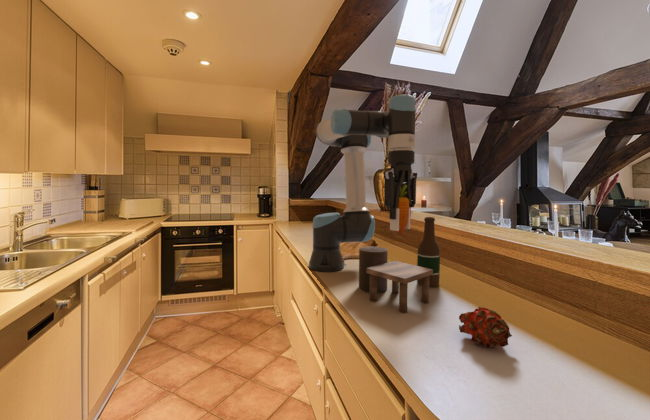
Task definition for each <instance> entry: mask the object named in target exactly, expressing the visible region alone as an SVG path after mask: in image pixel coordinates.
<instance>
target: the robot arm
mask: <svg viewBox="0 0 650 420" xmlns="http://www.w3.org/2000/svg"><path fill="white" fill-rule="evenodd" d="M387 108H388V109H387V110H386V111H381V110H379V111H378V110H355V109H345V108H342V109H334V110H333V111H332V113H331V117H330V119H329V118H326V119H323V120H321V121H319V123H318V124H317V126H316V128H315V129H316V130H315V136H316V138H317V140H318V141H320V143H322V144H324V145H326V146H329V147H335V148H336V147H339V148H340V152H341V154H343V156H344V174H345V175H344V176H345V177H344V178H345V179H344V180H345V181H344V182H345V202H346V204H345V206H346V208H345V209H344V210H343V213H342V215H341V213H339V212H326V213H325V212H324V213H320V214H317V215H315V216H314V217H313V218H312V252H311V255H310V259H309V261H308V268H309V269H310V270H312V271H315V272H325V273H326V272H327V273H329V272H330V273H331V272H337V271H342V270H343V269H344V268H345V262H344V260H343V255H342V252H341V243H343V244H344V243H362V242H368V241H371V239H372V238H373V237H374V234H375V230H376V219H375V217H374V215H372V214H370V213H371V212H370V209H368V208H367V200H366V182H365V181H366V178H365V157H364V154H365V152H367V150H368V148H369V147H370V145H371V143H372V141H371V140H372V137H373V136H375V137H377V138H379V139H380V138H381V139H384V138H388V141H387V143H388V144H387V145H388V146H387V150H388V153H387V163H388V165H390V168H389V170H387V171H383V175H382V176H383V179H384V187H383V188H384V191H383V192H384V198H383V199H384V200H383V201H384V202H383V203H384V204H383V205H384V206H385V207H386V209H389V216H388V217H389V231H394V232H397V231H399V208H397V206H398V200H399V194H400V188H403V186H404V185H406V186H407V187H406V189H405V191H404V192H407V193H406V194H405V195H404V196H403V197H406V198H408V199H409V215H408V220H407V224H406V227H405V229H404V230H410V229H411V217H412V216H411V213H412V212H411V211H412V208H415V205H416V202H417V200H416V199H417V179H418V172H413V169H412V165H413V164H415V159H416V158H415V152H416V151H414V150H415V137H416V136H415V135H416V133H415V132H416V110H417V109H416V98H415V97H414V96H413V95H411V94H397V95H393V96H391V97H390V98H389V100H388V106H387Z"/></svg>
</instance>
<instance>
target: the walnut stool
mask: <svg viewBox="0 0 650 420" xmlns="http://www.w3.org/2000/svg"><path fill="white" fill-rule="evenodd" d="M366 273H368V274H370V293H369V301H370V302H377V301H378V300H377V299H378V295H377V294H378V293H377V276H379V277H382V278H385V279H387V280H390V281H391V292H392V293H393V294H398V312H399V313H401V314H406V313H408V287H409V286H408V285H409V283H412V282H415V281H417V280H418V279H421V278H422V286H421V291H420V292H421V293H420V298H421V300H420V302H421V303H422V304H428V303H430V287H429V276H430V275H433V269H428V268H424V267H420V266H417V265H414V264H411V263H405V262H401V261H397V260H393V261H389V262H388V261H387V263H384V264H381V265H377V266H373V267H369V268H366Z"/></svg>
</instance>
